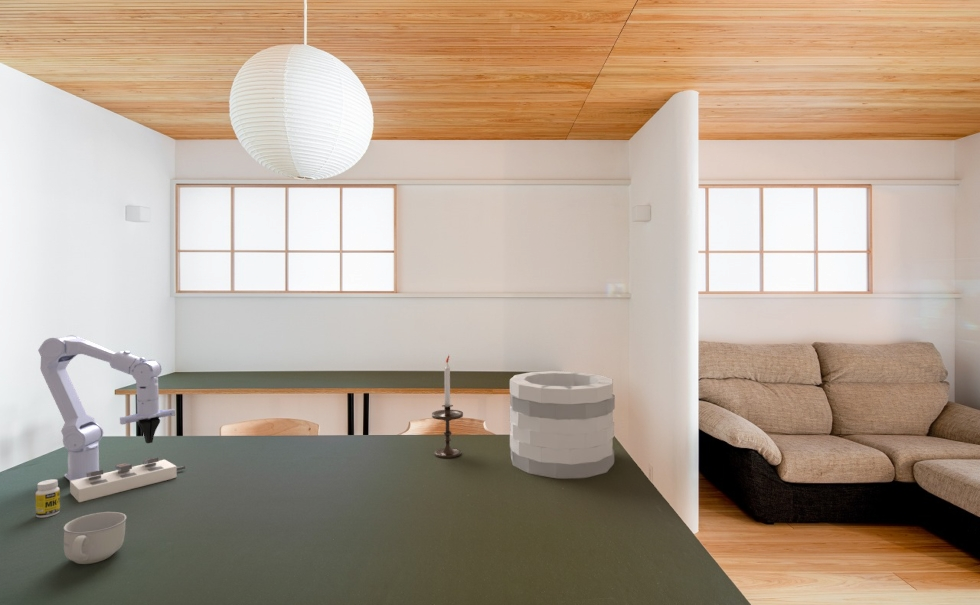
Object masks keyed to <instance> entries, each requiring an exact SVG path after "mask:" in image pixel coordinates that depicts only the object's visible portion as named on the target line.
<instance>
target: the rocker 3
mask: <svg viewBox="0 0 980 605" xmlns="http://www.w3.org/2000/svg"><path fill="white" fill-rule="evenodd" d="M159 461H160V459H159V457H153V458H148V459H144V460H142V464H143V465H144V464H150V463H154V462H159Z"/></svg>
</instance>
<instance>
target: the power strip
mask: <svg viewBox="0 0 980 605" xmlns="http://www.w3.org/2000/svg"><path fill="white" fill-rule="evenodd" d="M185 469H186V466H185V465H182V466H177V465H175V463H172V462H170V461H168V459H167V460H166V459H159V462H154V463H150V464H144V465H143V463H142V464H140V465H134V466H132V469H129V470H124V471H118V470H116V469H115V470H113V471H109V472H103V474H102V475H97V476H93V477H85V478H81V479H76V480H72V481H69V492H70V494H71V496H73V497H74V499H75V500H76V501H77V502H78V503H82V502H85V501H91V500H93V499H97V498H102V497H105V496H110V495H114V494H117V493H120V492H121V493H122V492H125V491H129V490H132V489H136V488H140V487H144V486H148V485H152V484H156V483H160V482H161V483H162V482H164V481H167V480H169V481H170V480H172V479H175V478H177V477H178V474H177V472H178V471H181V470H185Z"/></svg>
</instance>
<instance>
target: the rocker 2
mask: <svg viewBox="0 0 980 605" xmlns="http://www.w3.org/2000/svg"><path fill="white" fill-rule="evenodd" d="M132 467H133V466H132V463H131V464H130V463H122V464H121V463H120V464H117V465H115V471H116V470H118V471H124V470H129V469H132Z"/></svg>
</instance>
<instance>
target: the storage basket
mask: <svg viewBox="0 0 980 605" xmlns="http://www.w3.org/2000/svg"><path fill="white" fill-rule="evenodd" d="M512 376H513V377H511V378H510V379H509V394H510V396H509V397H510V401H509V402H510V406H509V431H510V432H509V448H510V459H511V463H512V464H511V465H512V466H513V467H515V468H517V469H519V470H521V471H523V472H525V473H527V474H529V475H535V476H541V477H547V478H551V479H552V478H553V479H587V478H590V477H594V476H598V475H601V474H605V473H608V471H609V470H610V469H611V468H612V467H613V465H614V464H615V449H614V447H613V442H614V441H613V440H614V439H613V438H614V437H615V422H614V410H615V407H616V406H615V403H616V402H615V401H616V400H615V398H616V397H615V394H613V392H614V390H613V389H614V385H613V384H614V382H613V381H614V379H613V378H610V377H607V376H605V375H601V374H596V373H589V372H588V373H587V372H581V371H563V370H562V371H561V370H559V371H558V370H557V371H556V370H549V371H548V370H546V371H530V372H525V373H520V374H515V375H512Z"/></svg>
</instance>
